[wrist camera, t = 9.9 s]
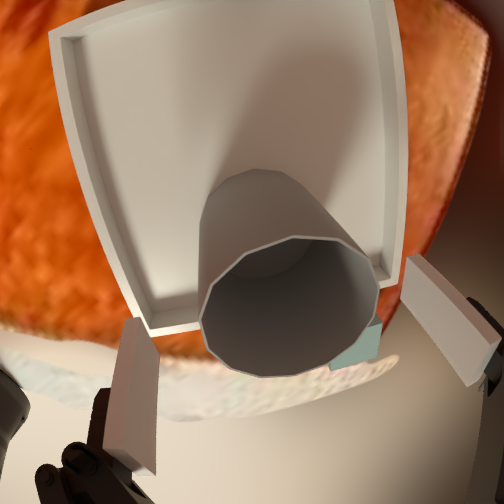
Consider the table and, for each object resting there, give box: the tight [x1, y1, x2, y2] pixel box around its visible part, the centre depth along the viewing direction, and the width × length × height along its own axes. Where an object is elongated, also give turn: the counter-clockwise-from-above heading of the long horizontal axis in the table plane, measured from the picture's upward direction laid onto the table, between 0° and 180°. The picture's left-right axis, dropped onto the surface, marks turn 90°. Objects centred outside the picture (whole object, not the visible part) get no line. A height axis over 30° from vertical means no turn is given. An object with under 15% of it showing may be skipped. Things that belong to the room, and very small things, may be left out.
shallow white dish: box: [48, 0, 408, 337], centre depth 20 cm, size 22×24×4 cm
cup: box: [198, 169, 380, 378], centre depth 18 cm, size 8×8×10 cm
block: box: [328, 312, 383, 371], centre depth 29 cm, size 5×5×5 cm
